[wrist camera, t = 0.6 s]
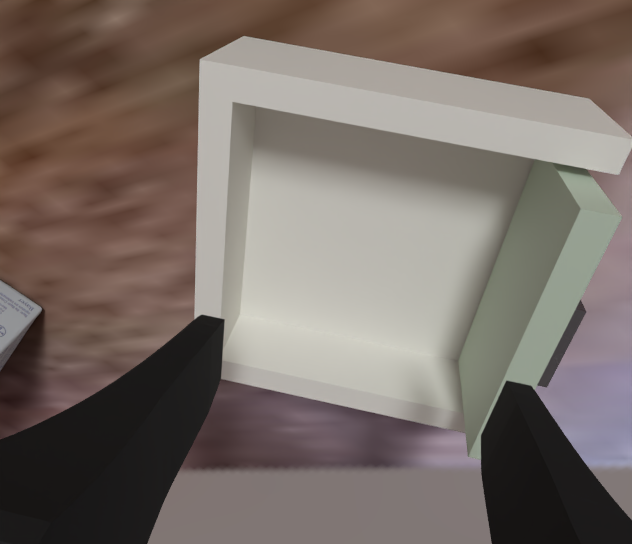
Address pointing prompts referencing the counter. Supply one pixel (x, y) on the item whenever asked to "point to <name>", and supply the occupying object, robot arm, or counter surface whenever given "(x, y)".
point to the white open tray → (364, 216)
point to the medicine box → (14, 319)
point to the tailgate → (534, 289)
